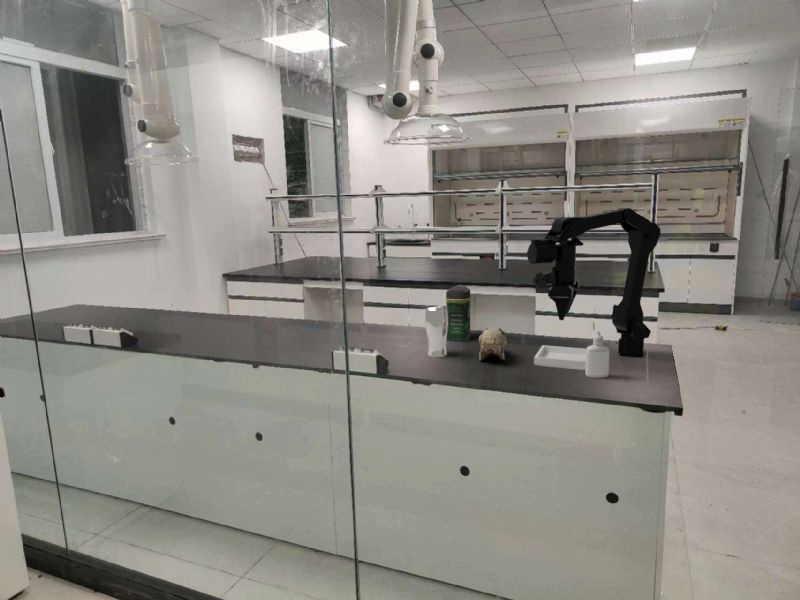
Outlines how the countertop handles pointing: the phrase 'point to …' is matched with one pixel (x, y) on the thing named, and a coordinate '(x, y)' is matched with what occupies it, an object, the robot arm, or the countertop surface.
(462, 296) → the coffee jar
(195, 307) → the countertop surface
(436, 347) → the beer glass
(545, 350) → the tray
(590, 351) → the eye dropper bottle
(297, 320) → the countertop surface
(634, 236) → the robot arm
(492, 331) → the animal skull replica
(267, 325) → the countertop surface
